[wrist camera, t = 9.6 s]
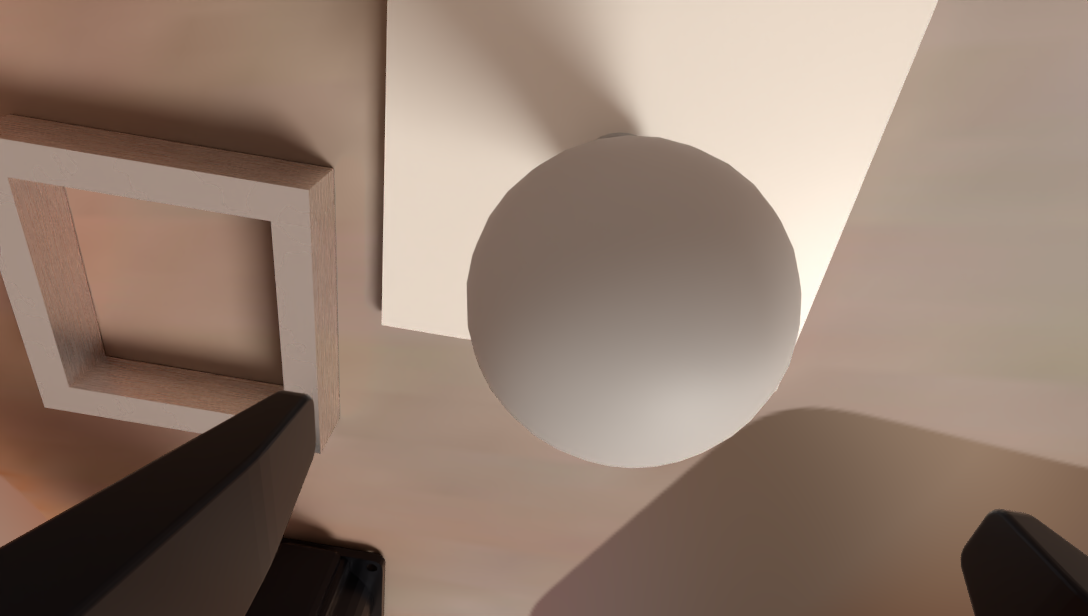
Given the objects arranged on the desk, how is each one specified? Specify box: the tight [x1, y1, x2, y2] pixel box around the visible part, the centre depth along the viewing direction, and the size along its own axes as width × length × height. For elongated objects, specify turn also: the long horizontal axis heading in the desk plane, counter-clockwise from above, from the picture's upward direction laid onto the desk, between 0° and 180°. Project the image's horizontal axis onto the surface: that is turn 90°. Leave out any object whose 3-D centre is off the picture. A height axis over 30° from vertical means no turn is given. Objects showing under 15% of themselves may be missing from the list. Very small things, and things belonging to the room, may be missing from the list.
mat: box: [382, 0, 938, 391], centre depth 19 cm, size 14×14×1 cm
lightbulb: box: [467, 132, 801, 468], centre depth 14 cm, size 6×6×11 cm
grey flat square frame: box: [0, 114, 340, 453], centre depth 22 cm, size 10×10×2 cm
